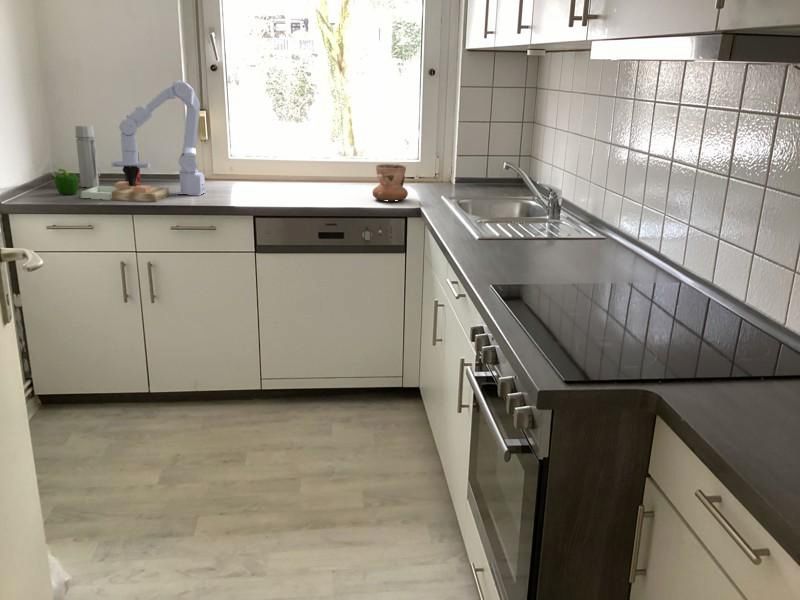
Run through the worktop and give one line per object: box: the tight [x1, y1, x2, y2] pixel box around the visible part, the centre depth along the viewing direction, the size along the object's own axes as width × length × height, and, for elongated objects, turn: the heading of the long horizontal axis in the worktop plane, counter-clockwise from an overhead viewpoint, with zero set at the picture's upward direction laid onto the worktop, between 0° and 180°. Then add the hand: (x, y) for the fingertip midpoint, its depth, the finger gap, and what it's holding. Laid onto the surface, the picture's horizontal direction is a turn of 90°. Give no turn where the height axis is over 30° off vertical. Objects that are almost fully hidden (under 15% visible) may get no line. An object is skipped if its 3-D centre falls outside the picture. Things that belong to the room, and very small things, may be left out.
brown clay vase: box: [372, 163, 409, 201], centre depth 291 cm, size 18×14×14 cm
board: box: [111, 186, 170, 203], centre depth 278 cm, size 17×14×3 cm
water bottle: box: [74, 124, 101, 189], centre depth 293 cm, size 9×8×25 cm
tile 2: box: [133, 184, 151, 193], centre depth 274 cm, size 5×5×2 cm
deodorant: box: [124, 154, 142, 187], centre depth 293 cm, size 6×6×15 cm
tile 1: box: [114, 180, 133, 189], centre depth 281 cm, size 5×5×2 cm
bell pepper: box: [54, 168, 80, 196], centre depth 278 cm, size 8×8×10 cm
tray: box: [79, 185, 118, 201], centre depth 279 cm, size 12×15×2 cm
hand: (132, 185), depth 281 cm, fingers closed
